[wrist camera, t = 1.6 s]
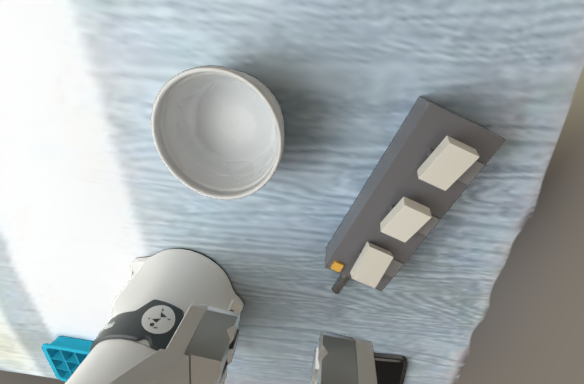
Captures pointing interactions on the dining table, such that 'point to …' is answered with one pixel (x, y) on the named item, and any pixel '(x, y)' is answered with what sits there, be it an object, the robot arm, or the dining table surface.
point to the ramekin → (218, 131)
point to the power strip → (406, 188)
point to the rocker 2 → (405, 219)
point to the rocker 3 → (447, 163)
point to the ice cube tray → (66, 355)
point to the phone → (390, 368)
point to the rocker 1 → (371, 265)
